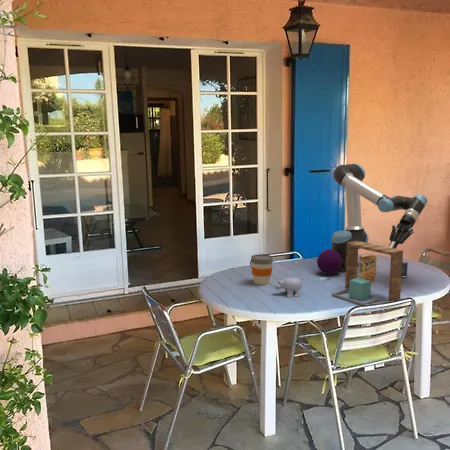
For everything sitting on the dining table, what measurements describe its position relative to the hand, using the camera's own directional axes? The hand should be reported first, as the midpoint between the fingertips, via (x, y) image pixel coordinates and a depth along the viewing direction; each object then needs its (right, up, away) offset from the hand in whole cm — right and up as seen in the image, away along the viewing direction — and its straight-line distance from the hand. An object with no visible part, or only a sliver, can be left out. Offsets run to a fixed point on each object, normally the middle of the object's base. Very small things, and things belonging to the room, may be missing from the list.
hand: (389, 252), depth 267 cm
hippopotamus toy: (-55, -22, -5) cm, 59 cm away
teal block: (-19, -23, -11) cm, 32 cm away
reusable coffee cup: (-68, -18, +15) cm, 72 cm away
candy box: (-7, -18, +16) cm, 25 cm away
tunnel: (-11, -22, -5) cm, 25 cm away
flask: (+14, -16, +23) cm, 32 cm away
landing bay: (-21, -23, -13) cm, 34 cm away
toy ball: (-26, -15, +31) cm, 43 cm away
